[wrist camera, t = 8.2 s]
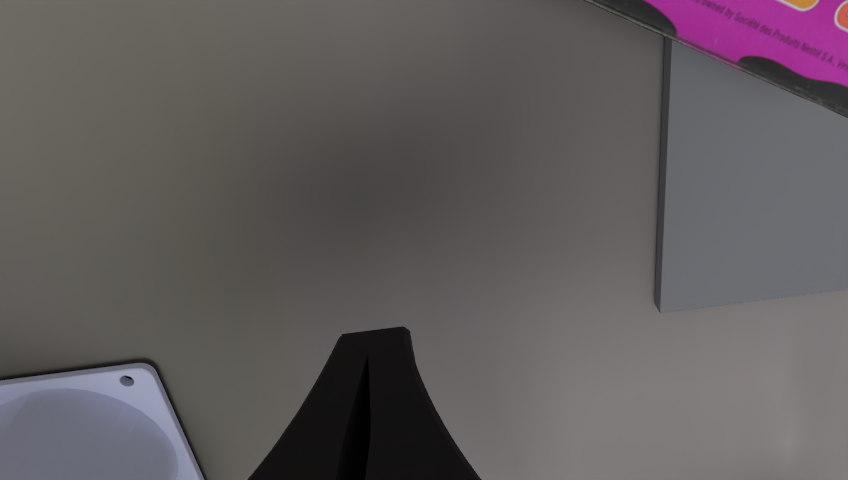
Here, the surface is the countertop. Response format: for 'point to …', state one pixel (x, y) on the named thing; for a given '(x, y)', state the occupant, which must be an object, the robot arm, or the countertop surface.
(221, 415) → the countertop surface
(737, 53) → the candy bar box
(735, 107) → the mat
